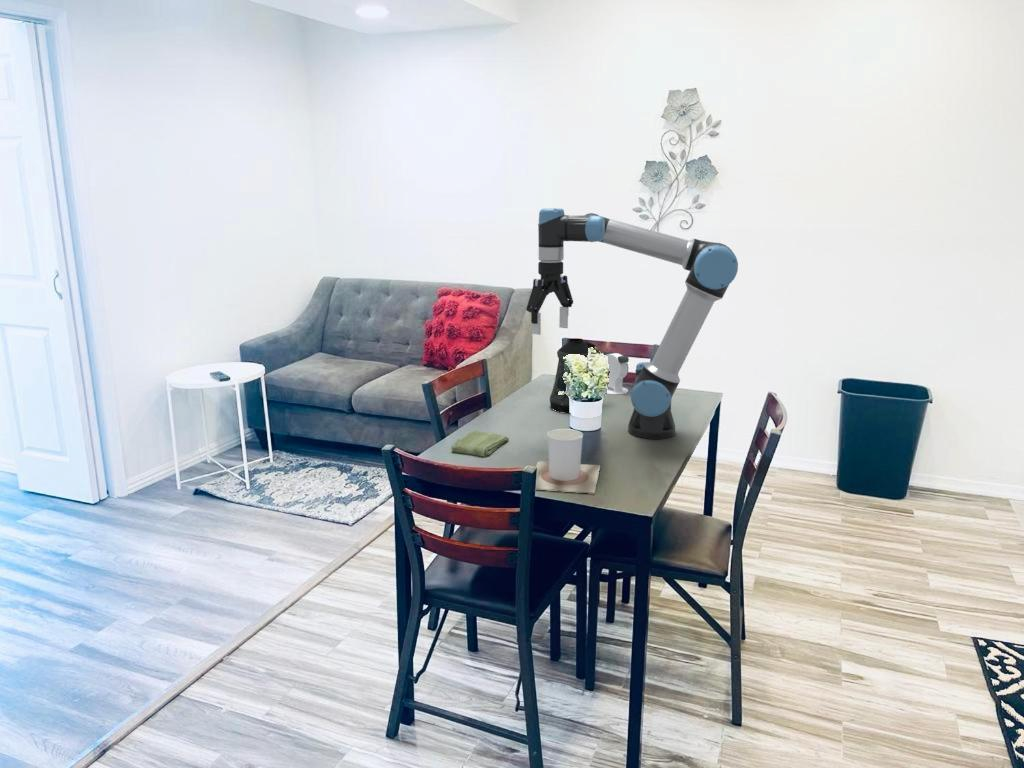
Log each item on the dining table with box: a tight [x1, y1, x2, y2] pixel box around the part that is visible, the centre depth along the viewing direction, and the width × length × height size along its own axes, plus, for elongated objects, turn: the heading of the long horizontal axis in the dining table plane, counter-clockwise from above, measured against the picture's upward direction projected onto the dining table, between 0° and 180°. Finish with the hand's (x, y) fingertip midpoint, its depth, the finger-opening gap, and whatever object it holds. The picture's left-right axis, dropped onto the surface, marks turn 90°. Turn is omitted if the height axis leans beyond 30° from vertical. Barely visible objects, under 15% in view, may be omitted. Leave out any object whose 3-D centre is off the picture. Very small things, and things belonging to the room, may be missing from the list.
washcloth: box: [451, 429, 510, 458], centre depth 234 cm, size 13×18×3 cm
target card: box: [535, 461, 601, 495], centre depth 208 cm, size 18×20×1 cm
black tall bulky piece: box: [549, 337, 601, 414], centre depth 272 cm, size 16×19×25 cm
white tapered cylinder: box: [546, 428, 584, 481], centre depth 207 cm, size 10×10×12 cm
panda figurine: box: [603, 350, 630, 396], centre depth 294 cm, size 12×11×15 cm
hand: (550, 331), depth 232 cm, fingers open, 13 cm apart
